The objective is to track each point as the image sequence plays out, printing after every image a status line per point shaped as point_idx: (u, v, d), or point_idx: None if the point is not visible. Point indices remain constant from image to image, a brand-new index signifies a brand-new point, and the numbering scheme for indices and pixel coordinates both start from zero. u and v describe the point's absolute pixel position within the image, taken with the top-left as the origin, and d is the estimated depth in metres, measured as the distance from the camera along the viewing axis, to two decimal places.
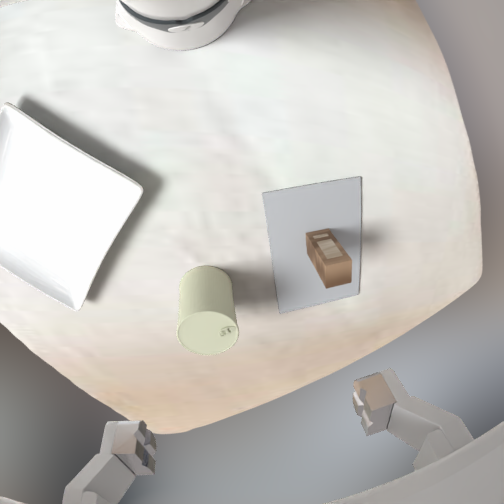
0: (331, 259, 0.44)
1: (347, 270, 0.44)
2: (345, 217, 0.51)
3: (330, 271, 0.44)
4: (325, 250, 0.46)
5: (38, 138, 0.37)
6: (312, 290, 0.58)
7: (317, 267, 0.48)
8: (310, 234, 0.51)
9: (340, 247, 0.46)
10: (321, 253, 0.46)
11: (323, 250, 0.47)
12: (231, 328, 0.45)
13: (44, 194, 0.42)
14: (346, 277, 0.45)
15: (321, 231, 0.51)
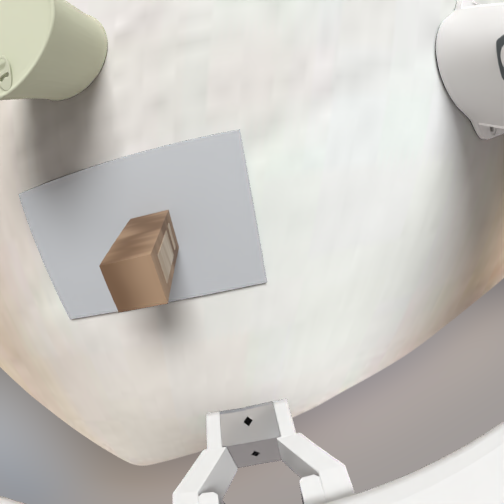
0: (159, 263, 0.22)
1: (143, 299, 0.22)
2: (199, 272, 0.33)
3: (138, 266, 0.21)
4: (163, 249, 0.25)
5: None
6: (64, 242, 0.30)
7: (125, 240, 0.24)
8: (168, 217, 0.29)
9: (171, 274, 0.26)
10: (159, 241, 0.24)
11: (163, 244, 0.25)
12: (7, 80, 0.13)
13: None
14: (128, 300, 0.22)
15: (174, 236, 0.30)
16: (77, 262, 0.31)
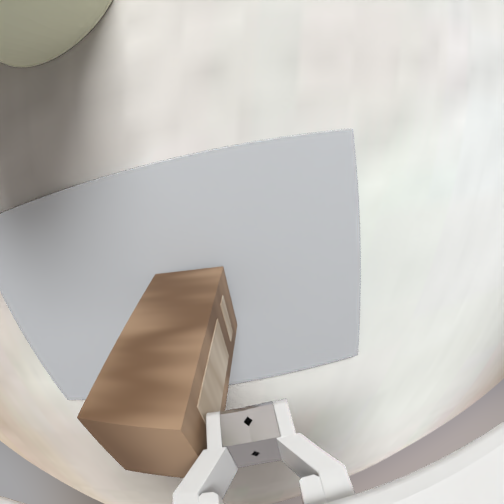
0: (199, 422, 0.10)
1: (169, 470, 0.10)
2: (266, 350, 0.21)
3: (156, 439, 0.09)
4: (211, 372, 0.12)
5: None
6: (47, 303, 0.18)
7: (136, 345, 0.12)
8: (223, 283, 0.17)
9: (223, 406, 0.13)
10: (201, 365, 0.11)
11: (209, 364, 0.12)
12: None
13: None
14: (140, 465, 0.10)
15: (231, 311, 0.18)
16: (70, 333, 0.19)
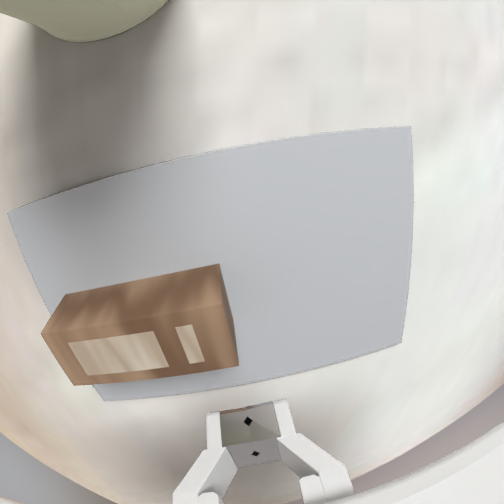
0: (67, 350, 0.14)
1: None
2: (320, 339, 0.21)
3: None
4: (105, 347, 0.14)
5: None
6: None
7: (114, 293, 0.16)
8: (206, 316, 0.14)
9: (124, 377, 0.15)
10: (90, 333, 0.14)
11: (106, 342, 0.14)
12: None
13: None
14: None
15: (221, 348, 0.15)
16: None
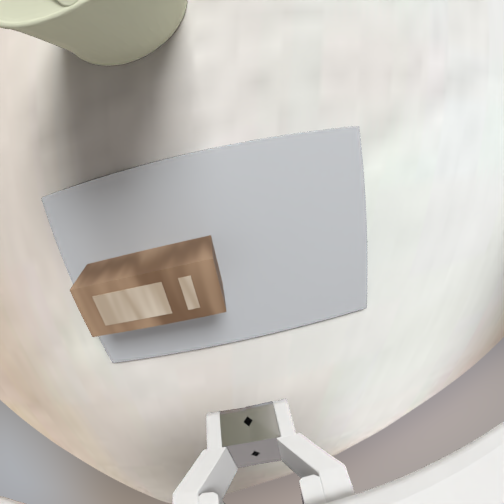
0: (90, 303, 0.19)
1: None
2: (294, 301, 0.26)
3: None
4: (123, 297, 0.19)
5: None
6: None
7: (129, 259, 0.22)
8: (201, 269, 0.19)
9: (135, 325, 0.20)
10: (111, 286, 0.19)
11: (123, 293, 0.19)
12: None
13: None
14: None
15: (212, 296, 0.20)
16: None
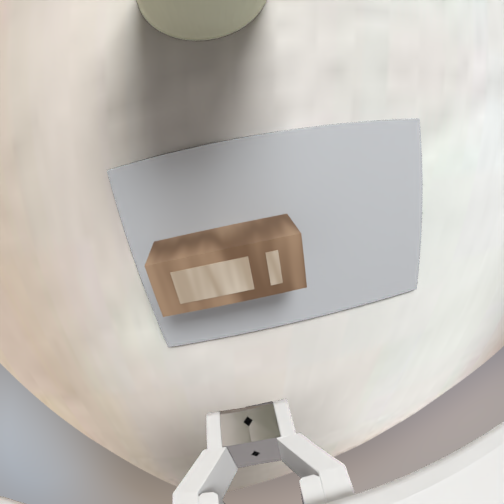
0: (167, 280, 0.20)
1: None
2: (356, 280, 0.27)
3: None
4: (205, 273, 0.20)
5: None
6: None
7: (205, 235, 0.22)
8: (288, 243, 0.20)
9: (213, 303, 0.21)
10: (193, 261, 0.20)
11: (206, 268, 0.20)
12: None
13: None
14: None
15: (296, 271, 0.21)
16: None
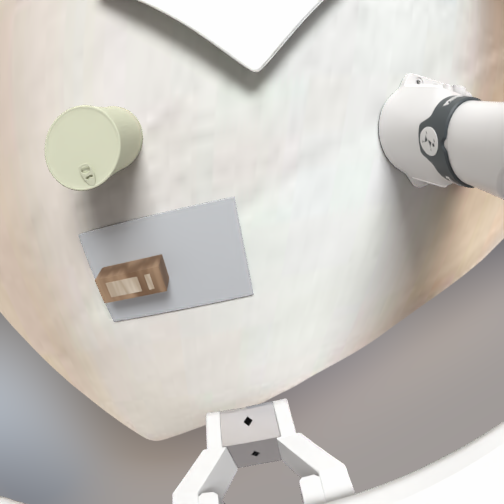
0: (104, 286, 0.42)
1: None
2: (208, 288, 0.49)
3: None
4: (120, 283, 0.42)
5: None
6: None
7: (123, 265, 0.45)
8: (153, 271, 0.42)
9: (125, 297, 0.44)
10: (114, 278, 0.42)
11: (120, 281, 0.42)
12: (92, 179, 0.30)
13: None
14: None
15: (159, 283, 0.43)
16: None
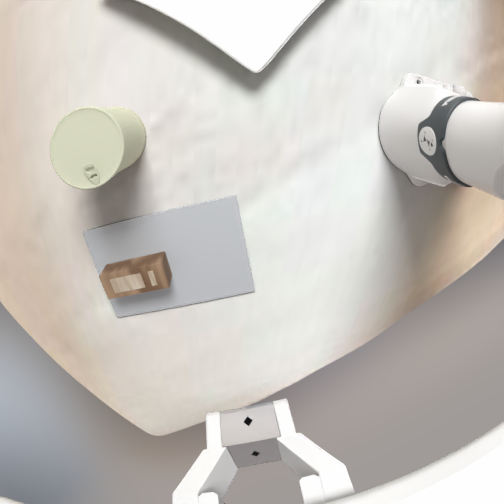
0: (108, 282, 0.44)
1: None
2: (210, 284, 0.50)
3: None
4: (123, 280, 0.44)
5: None
6: None
7: (126, 262, 0.46)
8: (156, 267, 0.44)
9: (129, 293, 0.45)
10: (118, 275, 0.43)
11: (124, 278, 0.43)
12: (96, 179, 0.31)
13: None
14: None
15: (162, 279, 0.44)
16: None
